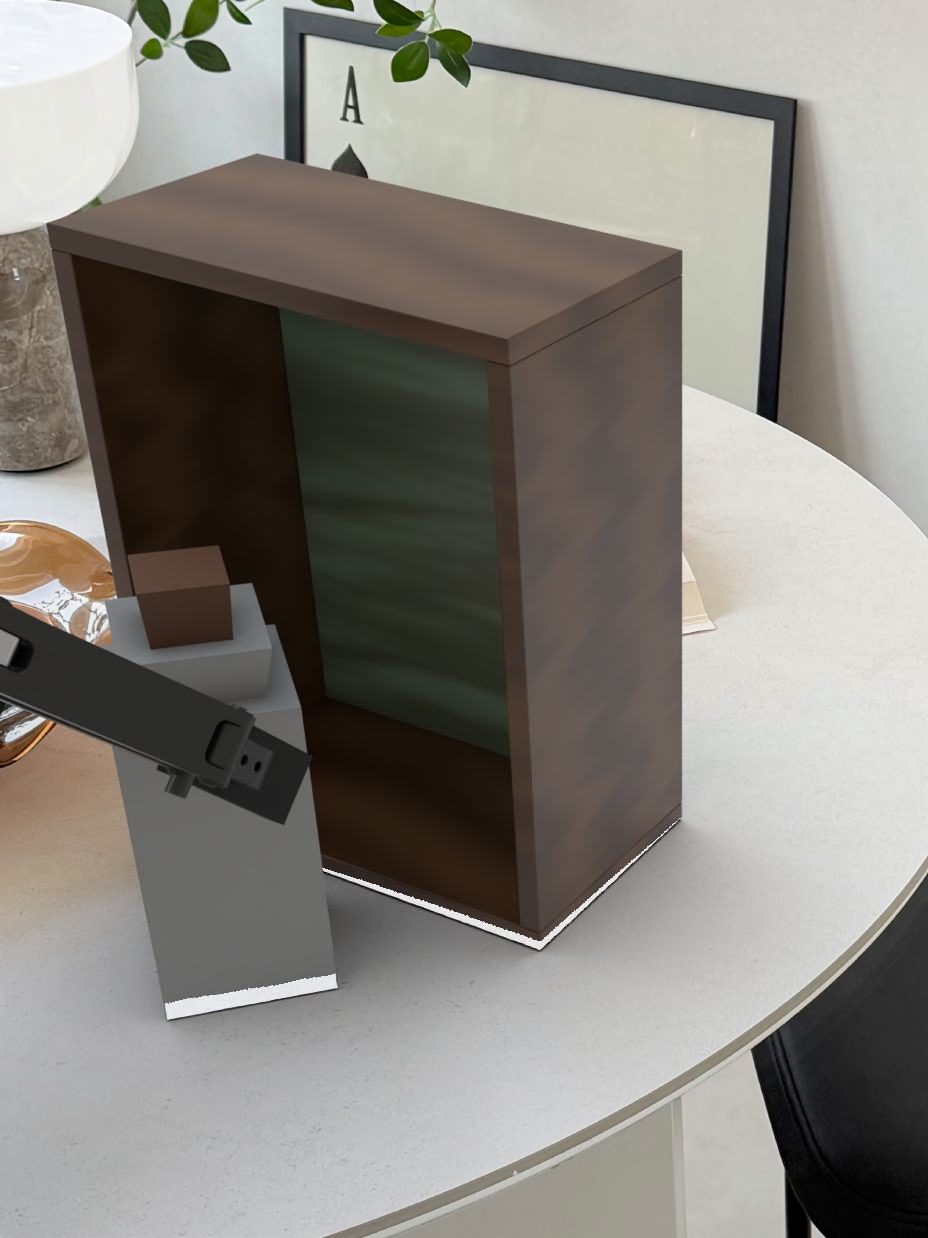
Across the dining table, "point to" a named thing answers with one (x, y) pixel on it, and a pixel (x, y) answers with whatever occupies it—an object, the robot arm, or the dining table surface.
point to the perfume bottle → (207, 825)
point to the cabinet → (412, 503)
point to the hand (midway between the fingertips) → (143, 736)
